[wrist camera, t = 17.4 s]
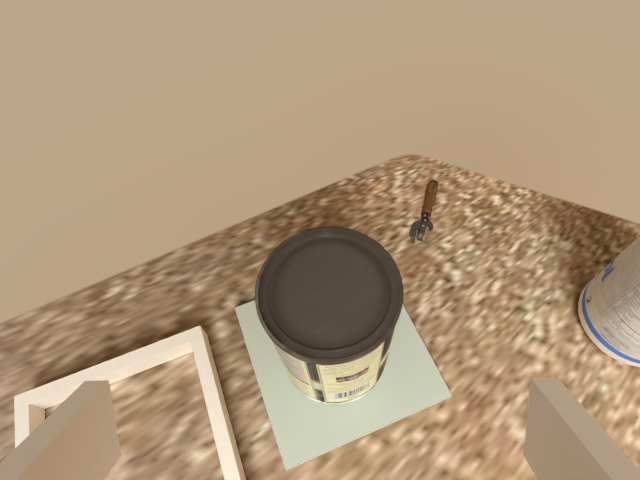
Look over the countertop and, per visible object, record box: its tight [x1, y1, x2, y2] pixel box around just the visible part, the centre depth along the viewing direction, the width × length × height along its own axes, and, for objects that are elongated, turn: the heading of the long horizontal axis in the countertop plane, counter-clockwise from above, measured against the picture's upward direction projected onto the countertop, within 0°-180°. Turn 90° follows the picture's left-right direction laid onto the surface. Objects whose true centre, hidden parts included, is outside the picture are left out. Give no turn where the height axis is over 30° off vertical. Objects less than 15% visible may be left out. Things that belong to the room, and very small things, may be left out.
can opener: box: [410, 180, 438, 243], centre depth 50 cm, size 9×2×1 cm, turn 156°
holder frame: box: [14, 326, 246, 480], centre depth 38 cm, size 17×17×2 cm
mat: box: [235, 300, 452, 471], centre depth 43 cm, size 16×16×1 cm
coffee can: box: [255, 227, 403, 405], centre depth 36 cm, size 10×10×14 cm
